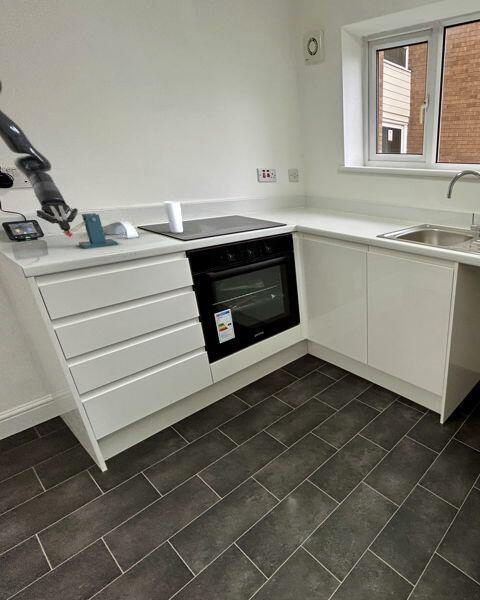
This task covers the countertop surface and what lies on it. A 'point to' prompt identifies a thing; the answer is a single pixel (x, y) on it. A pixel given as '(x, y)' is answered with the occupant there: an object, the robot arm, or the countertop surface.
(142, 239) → the countertop surface
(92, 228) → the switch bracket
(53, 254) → the countertop surface
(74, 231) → the switch lever
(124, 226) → the white rounded block
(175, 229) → the drinking glass
